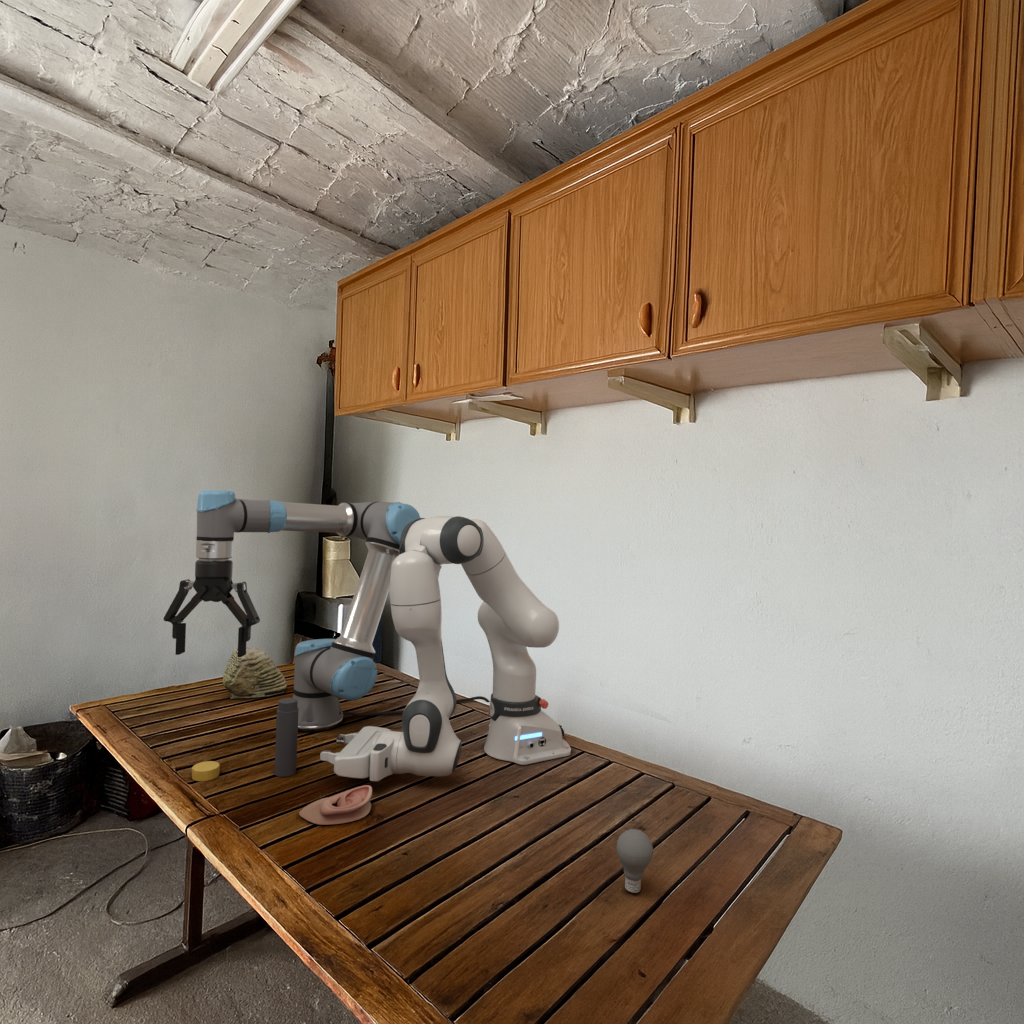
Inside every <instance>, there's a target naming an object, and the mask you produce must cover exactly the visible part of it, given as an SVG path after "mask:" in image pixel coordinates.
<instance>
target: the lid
mask: <svg viewBox="0 0 1024 1024" xmlns="http://www.w3.org/2000/svg"><path fill="white" fill-rule="evenodd" d="M220 771H221V766H220V763H219V762H218V761H215V760H207V761H205V760H204V761H201V762H197V763H196V764H194V765H192V767H191V779H192V780H193V781H196V782H207V781H208V782H209V781H212V780H214V779H217V778H218V777H219V776H220V773H221V772H220Z"/></svg>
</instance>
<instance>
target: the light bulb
mask: <svg viewBox="0 0 1024 1024" xmlns="http://www.w3.org/2000/svg"><path fill="white" fill-rule="evenodd" d="M615 849H616V854H617V857H618V859H619V861H620V863H621V865H622V867H623V873H624V874H623V875H624V876H625V878H624V888H625V890H627V891H628V892H630V893H634V894H635V893H639V892H640V891H641V889H642V887H641V886H642V879H643V877H644V875H645V871H646V868H647V867H648V866H649V864H650V863H651V861H652V859H653V855H654V847H653V843H652V841H651V838H649V836H648V835H647V834H646V833H645V832H643V831H642V830H641V829H636V828H629V829H627V830H625V831H623V832H622V833H621V834H620V835H619V837H618V839H617V841H616V847H615Z"/></svg>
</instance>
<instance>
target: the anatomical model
mask: <svg viewBox="0 0 1024 1024" xmlns="http://www.w3.org/2000/svg"><path fill="white" fill-rule="evenodd" d="M372 795H373V787H372V786H371V785H369V784H367V785H366V784H365V785H361V786H356V787H354V788H351V789H350V788H349V789H347V790H345V791H341V792H340V793H337V794H334V795H332V796H329V797H328V796H327V797H323V798H320V799H317V800H315V801H313V802H311V803H309V804H307V805H306V806H304V807H303V808H301V809H300V810H299V812H298V815H299V817H300V818H302V819H304V820H306V821H307V822H310V823H311V824H315V825H319V826H328V825H339V824H346V823H351V822H354V821H357V820H361V819H363V818H365V817H366V816H367V815H368V814H369V813H370V812H371V809H372V803H371V798H372V797H373V796H372Z"/></svg>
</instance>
